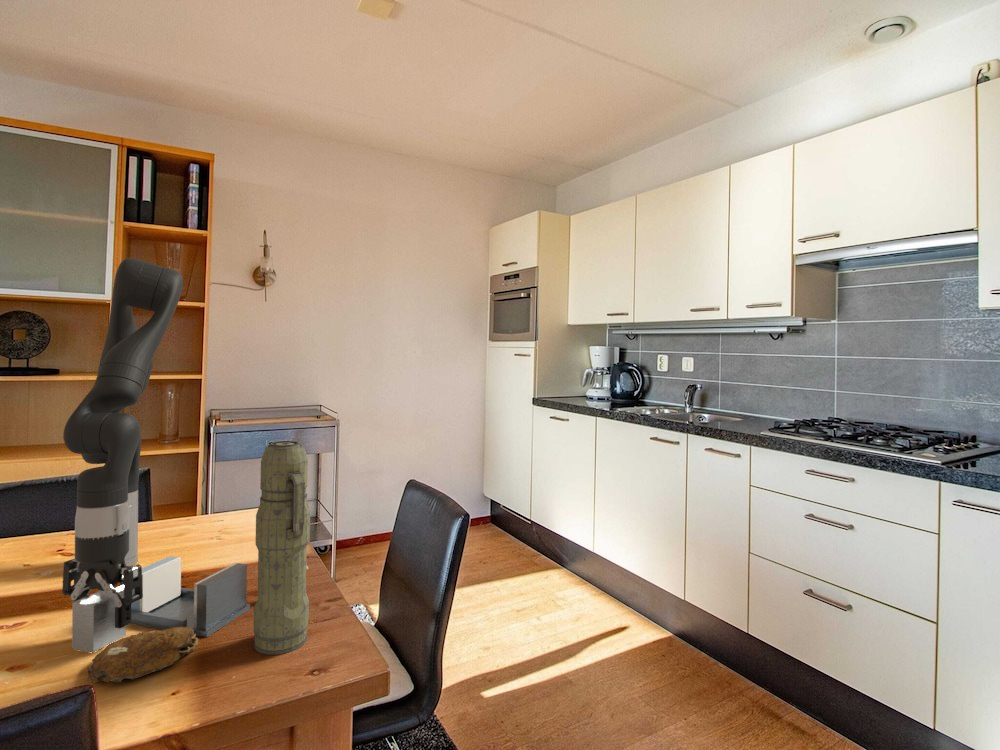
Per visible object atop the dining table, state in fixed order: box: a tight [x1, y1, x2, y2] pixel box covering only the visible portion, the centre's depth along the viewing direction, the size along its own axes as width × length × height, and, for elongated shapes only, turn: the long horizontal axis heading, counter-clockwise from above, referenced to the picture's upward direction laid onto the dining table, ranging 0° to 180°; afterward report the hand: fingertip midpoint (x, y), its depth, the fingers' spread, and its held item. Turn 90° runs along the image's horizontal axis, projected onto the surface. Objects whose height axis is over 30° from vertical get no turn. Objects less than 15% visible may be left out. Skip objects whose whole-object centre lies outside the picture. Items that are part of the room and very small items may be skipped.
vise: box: [128, 562, 251, 638], centre depth 103 cm, size 18×11×9 cm, turn 77°
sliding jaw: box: [131, 555, 182, 612], centre depth 104 cm, size 3×9×8 cm, turn 167°
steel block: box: [71, 590, 127, 654], centre depth 93 cm, size 6×4×8 cm
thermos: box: [253, 440, 311, 656], centre depth 94 cm, size 9×12×35 cm
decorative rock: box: [87, 627, 200, 683], centre depth 87 cm, size 11×4×15 cm
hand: (102, 622), depth 93 cm, fingers open, 8 cm apart
